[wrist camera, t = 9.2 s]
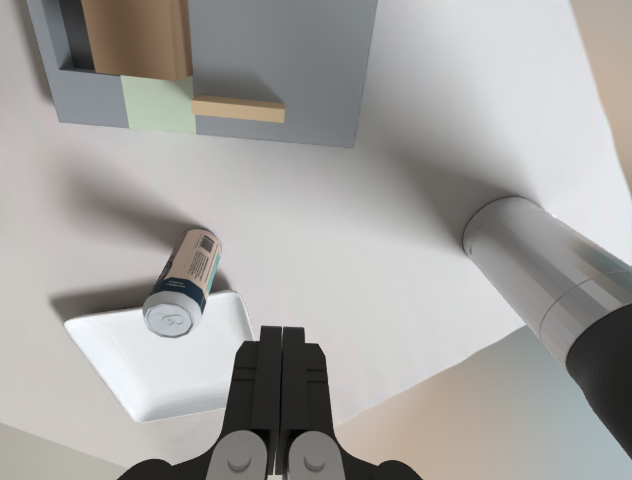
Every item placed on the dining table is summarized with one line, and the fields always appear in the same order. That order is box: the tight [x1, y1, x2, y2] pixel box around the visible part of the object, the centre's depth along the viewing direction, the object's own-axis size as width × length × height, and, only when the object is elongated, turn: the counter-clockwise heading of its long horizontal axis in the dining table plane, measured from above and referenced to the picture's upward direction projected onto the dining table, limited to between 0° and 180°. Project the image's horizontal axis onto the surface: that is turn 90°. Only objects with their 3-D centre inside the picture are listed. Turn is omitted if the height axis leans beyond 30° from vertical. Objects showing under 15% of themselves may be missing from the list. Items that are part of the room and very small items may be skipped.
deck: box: [26, 0, 378, 148], centre depth 25 cm, size 25×14×6 cm, turn 84°
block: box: [81, 0, 193, 81], centre depth 23 cm, size 5×5×5 cm
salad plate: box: [63, 290, 256, 424], centre depth 44 cm, size 21×21×3 cm
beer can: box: [142, 229, 222, 339], centre depth 32 cm, size 5×5×12 cm
